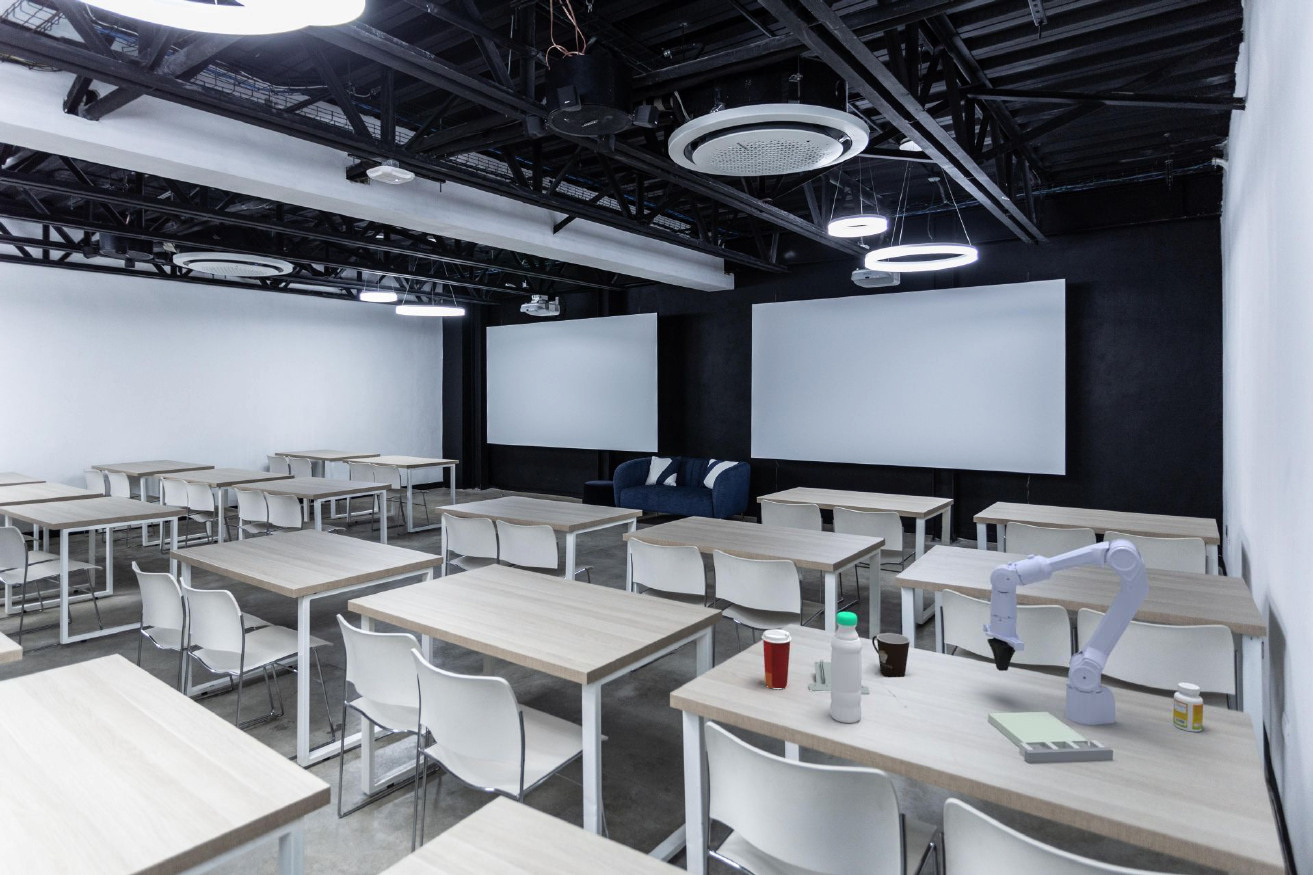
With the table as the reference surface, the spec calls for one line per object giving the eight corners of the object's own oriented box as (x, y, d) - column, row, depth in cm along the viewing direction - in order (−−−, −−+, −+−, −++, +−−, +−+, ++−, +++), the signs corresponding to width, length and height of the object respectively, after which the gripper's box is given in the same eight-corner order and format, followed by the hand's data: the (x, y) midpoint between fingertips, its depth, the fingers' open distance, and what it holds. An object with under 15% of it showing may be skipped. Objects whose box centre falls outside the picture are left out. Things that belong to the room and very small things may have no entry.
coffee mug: (913, 680, 190) (914, 643, 189) (881, 680, 190) (882, 643, 189) (899, 664, 201) (900, 629, 201) (869, 664, 201) (869, 629, 201)
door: (1046, 719, 163) (1046, 711, 163) (1098, 756, 146) (1098, 748, 145) (988, 720, 162) (988, 713, 162) (1033, 758, 145) (1033, 750, 145)
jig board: (1036, 711, 170) (1036, 697, 170) (1112, 767, 144) (1112, 749, 144) (963, 713, 169) (964, 699, 169) (1027, 770, 143) (1028, 752, 143)
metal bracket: (806, 653, 194) (862, 656, 192) (806, 671, 196) (861, 674, 194) (810, 687, 181) (870, 691, 179) (809, 706, 183) (869, 710, 181)
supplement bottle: (1199, 724, 163) (1201, 683, 163) (1204, 734, 159) (1205, 692, 158) (1171, 719, 166) (1172, 679, 165) (1174, 729, 161) (1176, 687, 161)
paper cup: (795, 683, 187) (795, 631, 187) (784, 693, 181) (784, 639, 180) (768, 677, 192) (768, 626, 191) (756, 686, 185) (756, 634, 184)
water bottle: (863, 714, 169) (864, 611, 168) (858, 726, 162) (859, 619, 161) (833, 708, 172) (834, 607, 171) (827, 720, 165) (828, 615, 164)
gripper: (972, 606, 179) (971, 659, 179) (1004, 624, 164) (1002, 681, 165) (999, 606, 179) (997, 658, 180) (1033, 623, 165) (1031, 680, 165)
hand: (1002, 669), depth 172 cm, fingers closed
